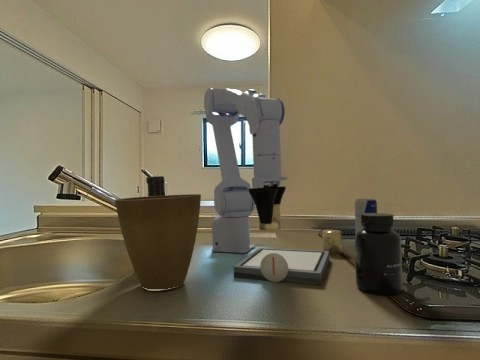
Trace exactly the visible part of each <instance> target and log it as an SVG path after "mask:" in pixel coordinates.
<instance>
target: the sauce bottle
mask: <svg viewBox="0 0 480 360" xmlns="http://www.w3.org/2000/svg"><path fill="white" fill-rule="evenodd" d="M145 181H146V184H147V197H148V196H165V195H166V192H165V177H164V175H163V176H162V175H160V176H159V175H158V176H157V175H156V176H147V177H146V180H145Z"/></svg>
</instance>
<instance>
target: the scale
mask: <svg viewBox="0 0 480 360" xmlns="http://www.w3.org/2000/svg"><path fill="white" fill-rule="evenodd" d="M262 250H280V251H299V252H319V253H322V256H321V259H320V261H319V263H318V265H317V267H316V269H315V271H302V270H289V269H288V264H287V261H286V260H285V258H284V257H283V256H281V255H279V254H277V253H270V254H267V255H266V256H265V257H264V258H263V259H262V261H261V265H260V267H249V266H243V265H244V264H246V263H247V262H248V261H249V260H251V259H252V258H253V257H254V256H256V255H257V254H258V253H260V252H261V251H262ZM329 262H330V254H329V251H323V250H315V249H314V250H313V249H311V250H310V249H293V248H292V249H291V248H289V249H288V248H272V247H258V248H256V250H254V251H253V252H252V253H249V255H247V256H246V257H244V258H243V259H241V260H240V261H239V262H238V263H237V264H234V266H233V277H234V278H238V279H239V278H240V279H249V280H250V279H251V280H259V281H260V280H261V281H270V282H274V283H277V282H283V283H294V284H306V285H317V286H318V285H319V286H322V283H323V281H324V277H325V274H326V273H327V272H326V271H327V268H328V266H329V264H330V263H329Z"/></svg>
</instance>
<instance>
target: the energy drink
mask: <svg viewBox="0 0 480 360" xmlns="http://www.w3.org/2000/svg"><path fill="white" fill-rule="evenodd" d="M364 213H378V202H377V199H375V198H356V199H355V201H354V219H355V220H354V222H355V234H356V233H357V232H358V231H359V230H361V229H362V225H361V223H360V222H361V214H364Z"/></svg>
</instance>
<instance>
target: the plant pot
mask: <svg viewBox="0 0 480 360" xmlns="http://www.w3.org/2000/svg"><path fill="white" fill-rule="evenodd" d="M201 200H202V195H201V194H198V193H197V194H196V193H193V194H191V193H190V194H169V195H168V194H165V196H148V195H147V196H135V197H124V198H117V199H116V198H115V199H114V201H115V202H114V203H115V208H116V213H117V217H118V222H119V226H120V230H121V235H122V237H123V238H122V239H123V242H124V245H125V248H126V252H127V253H128V257H129V259H130V262H131V265H132V268H133V270H134V273H135V274H136V277H137V279H138V281H139V284H140V285H141V288H142V287H144V288H147V289H168V288H173V287H177V286H180V285H181V286H183V285H184V284H183V283H185V280H186V278H187V275H188V271H189V268H190V265H191V261H192V258H193V253H194V249H195V244H196V239H197V233H198V228H199V222H200V221H199V220H200V213H201ZM182 284H183V285H182ZM181 286H180V287H181ZM177 288H178V287H177Z"/></svg>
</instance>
